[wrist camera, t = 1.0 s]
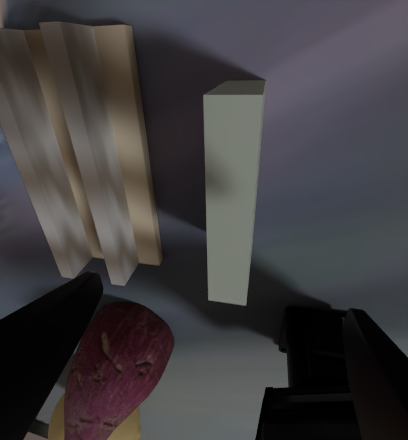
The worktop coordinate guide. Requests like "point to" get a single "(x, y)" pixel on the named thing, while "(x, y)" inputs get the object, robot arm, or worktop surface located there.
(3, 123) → the track
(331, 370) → the robot arm
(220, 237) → the rectangular block
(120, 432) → the yellow rounded lump
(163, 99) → the worktop surface
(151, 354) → the vegetable
